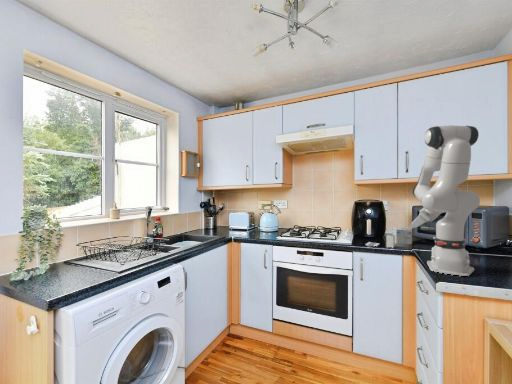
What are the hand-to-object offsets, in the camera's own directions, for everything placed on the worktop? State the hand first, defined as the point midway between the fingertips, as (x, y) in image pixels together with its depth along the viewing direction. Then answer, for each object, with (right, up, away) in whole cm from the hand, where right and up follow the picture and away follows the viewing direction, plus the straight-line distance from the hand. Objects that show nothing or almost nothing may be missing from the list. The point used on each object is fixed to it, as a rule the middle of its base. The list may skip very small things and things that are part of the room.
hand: (409, 228), depth 159 cm
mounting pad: (-17, -14, +14) cm, 26 cm away
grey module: (-8, -14, +7) cm, 17 cm away
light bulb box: (+6, -13, +17) cm, 23 cm away
